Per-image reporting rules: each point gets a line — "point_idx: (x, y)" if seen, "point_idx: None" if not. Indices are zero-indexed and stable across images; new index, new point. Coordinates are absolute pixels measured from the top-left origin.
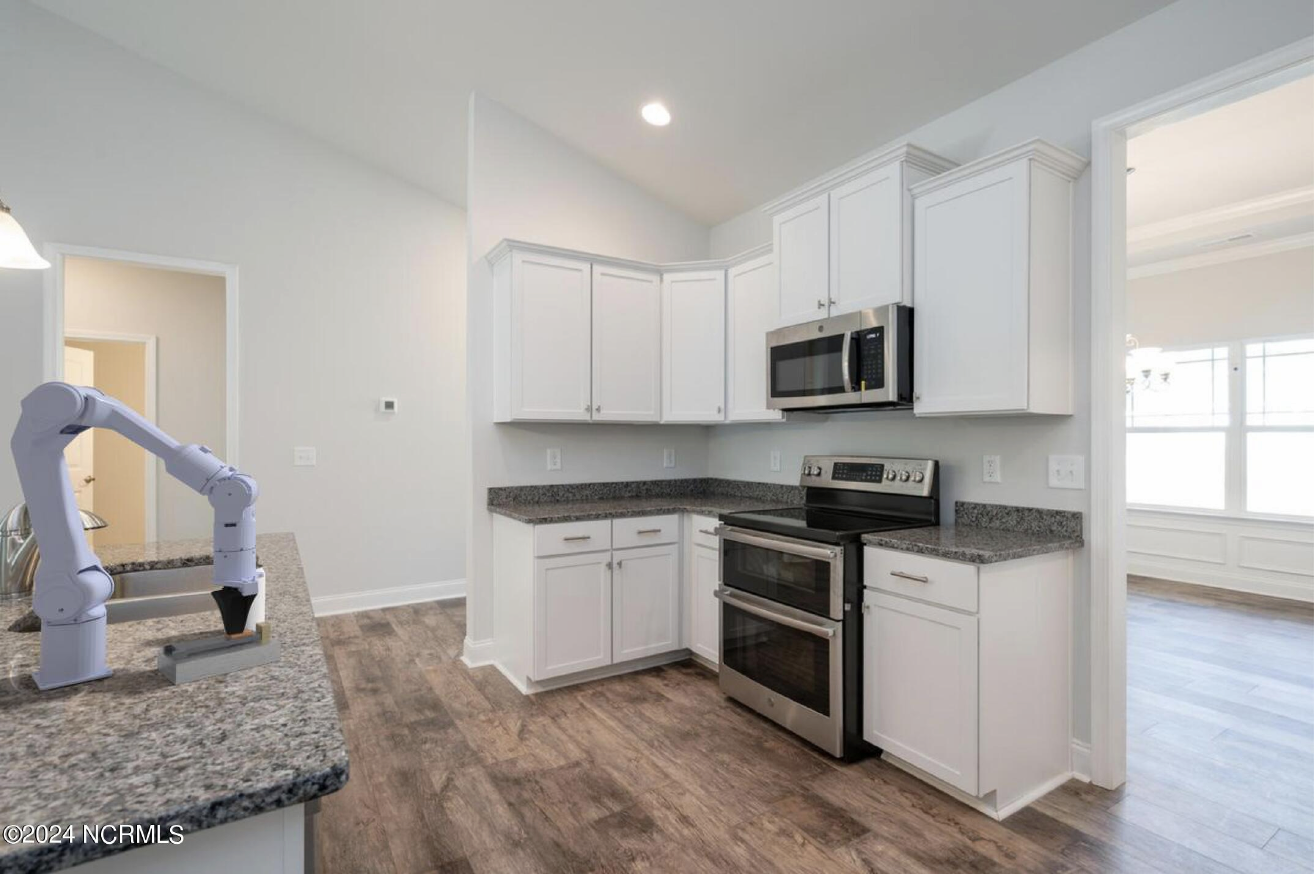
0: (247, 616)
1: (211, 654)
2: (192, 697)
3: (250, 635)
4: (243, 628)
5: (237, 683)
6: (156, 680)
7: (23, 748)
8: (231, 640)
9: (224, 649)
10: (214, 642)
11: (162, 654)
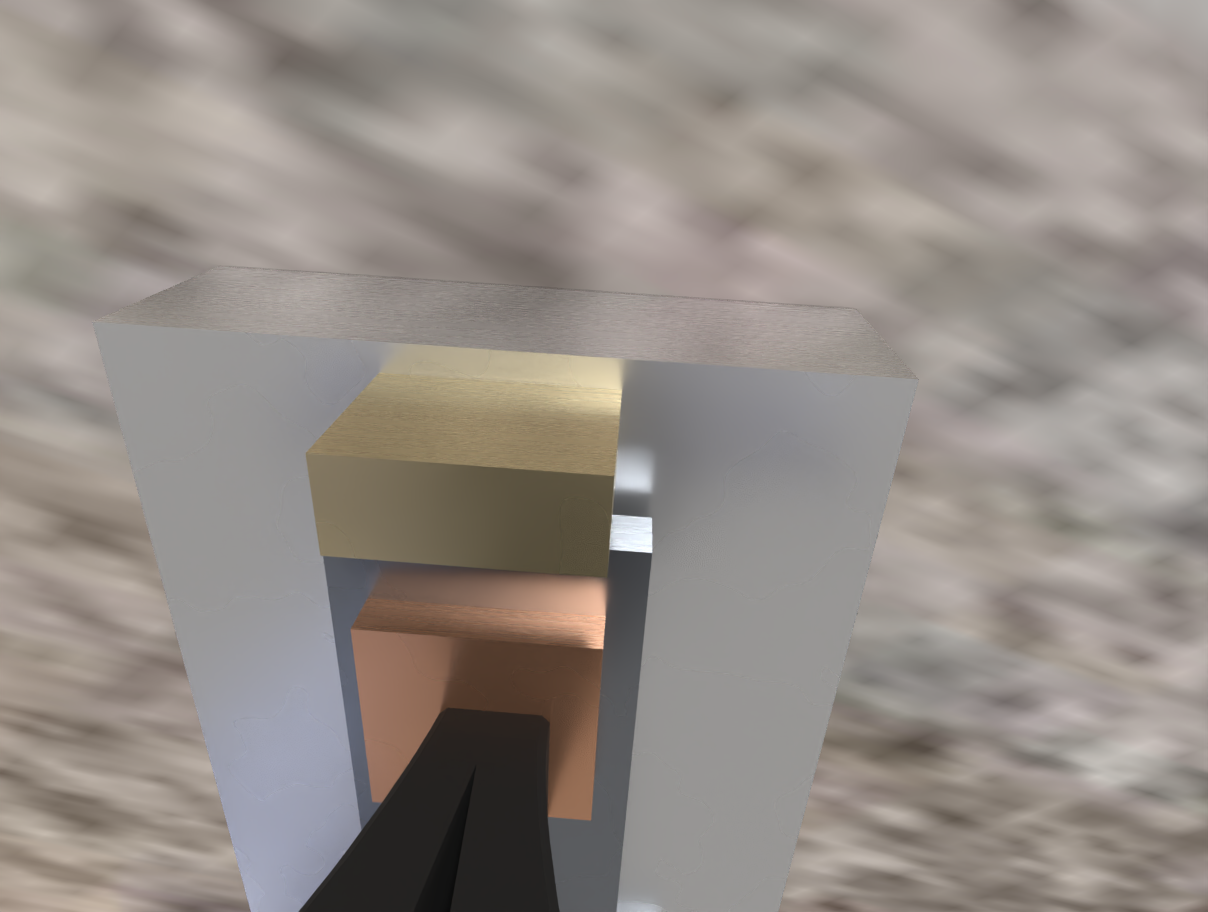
0: (549, 893)
1: (710, 865)
2: (1027, 894)
3: (609, 639)
4: (545, 756)
5: (1062, 712)
6: None
7: None
8: (625, 787)
9: (655, 781)
10: (587, 885)
11: None
